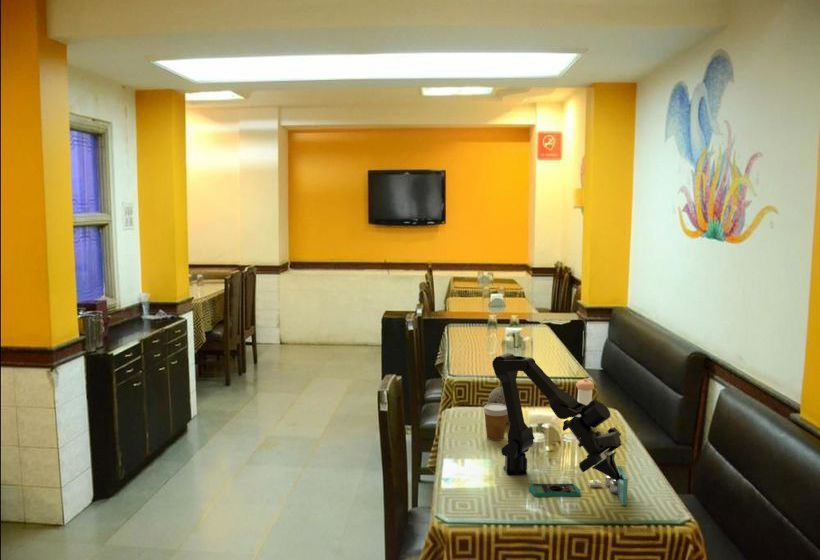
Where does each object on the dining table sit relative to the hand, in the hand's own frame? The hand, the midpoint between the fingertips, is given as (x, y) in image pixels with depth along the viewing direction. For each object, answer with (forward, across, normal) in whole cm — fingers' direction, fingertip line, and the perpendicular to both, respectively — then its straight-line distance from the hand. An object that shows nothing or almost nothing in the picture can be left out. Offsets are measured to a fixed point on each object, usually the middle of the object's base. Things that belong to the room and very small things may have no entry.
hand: (618, 479), depth 195 cm
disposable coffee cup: (-34, +23, +47) cm, 63 cm away
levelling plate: (+3, +4, +8) cm, 9 cm away
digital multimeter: (-6, -6, +18) cm, 20 cm away
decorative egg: (-39, +39, +52) cm, 76 cm away
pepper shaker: (-20, +57, +33) cm, 69 cm away
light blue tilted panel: (+4, +2, +5) cm, 7 cm away
